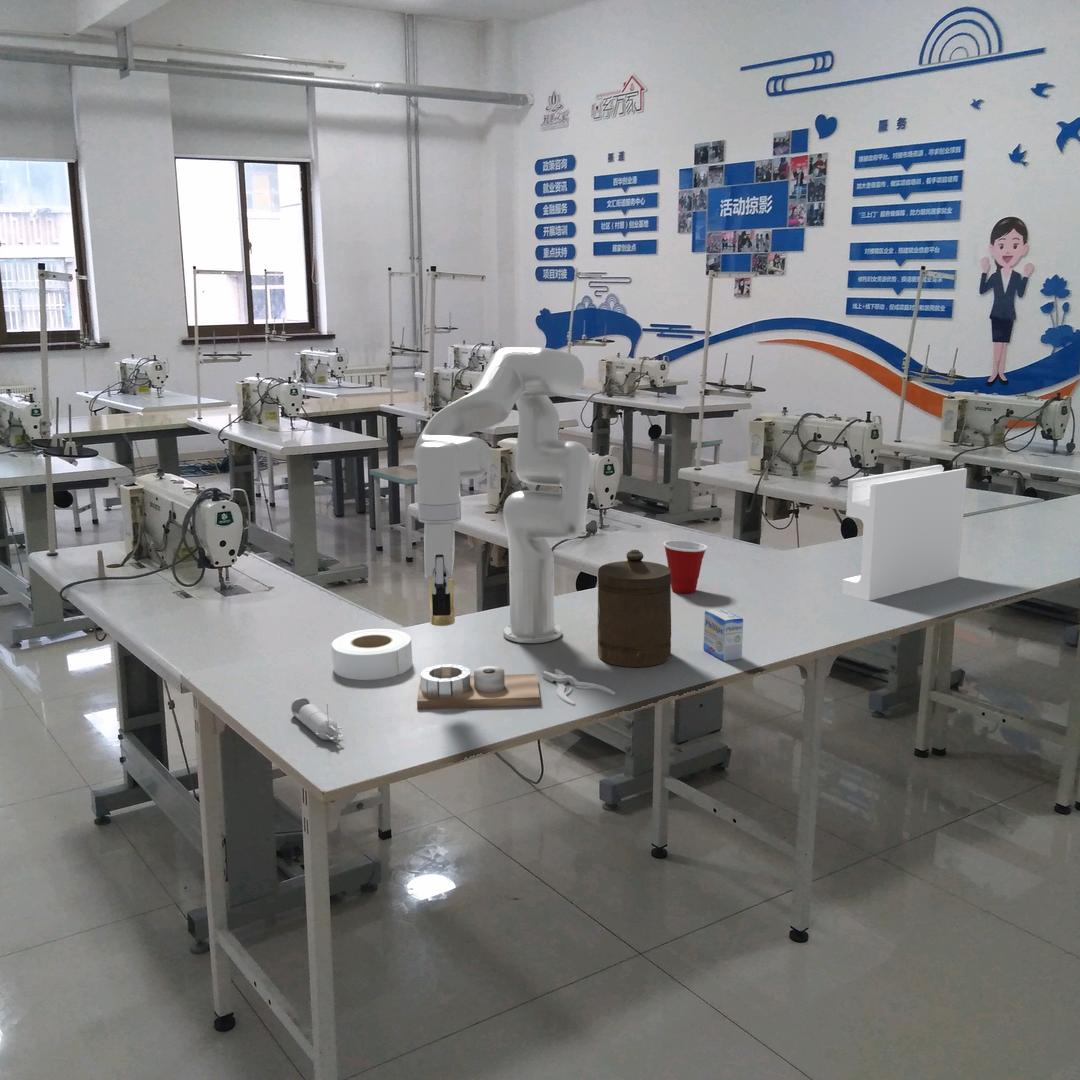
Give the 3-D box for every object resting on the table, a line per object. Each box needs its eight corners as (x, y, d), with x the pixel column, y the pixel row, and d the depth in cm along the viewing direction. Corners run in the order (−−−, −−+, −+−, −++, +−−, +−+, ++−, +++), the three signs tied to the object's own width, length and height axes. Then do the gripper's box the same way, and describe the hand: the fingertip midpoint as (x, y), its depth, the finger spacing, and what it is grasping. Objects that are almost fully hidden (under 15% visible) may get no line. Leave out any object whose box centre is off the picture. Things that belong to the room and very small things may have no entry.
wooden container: (631, 639, 227) (632, 538, 222) (685, 655, 217) (687, 550, 212) (582, 655, 217) (582, 551, 212) (636, 673, 207) (637, 564, 202)
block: (868, 600, 252) (875, 484, 246) (841, 593, 259) (847, 479, 253) (958, 577, 272) (967, 468, 265) (931, 570, 278) (939, 464, 272)
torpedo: (284, 717, 188) (282, 682, 187) (309, 711, 191) (307, 676, 190) (325, 752, 174) (323, 714, 172) (352, 745, 177) (350, 708, 175)
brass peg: (431, 619, 195) (429, 576, 193) (455, 618, 195) (454, 576, 194) (429, 626, 191) (428, 583, 189) (454, 625, 191) (453, 582, 189)
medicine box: (702, 650, 220) (703, 610, 218) (721, 647, 221) (722, 607, 219) (723, 662, 213) (724, 620, 211) (742, 658, 214) (744, 617, 212)
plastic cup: (713, 595, 259) (714, 547, 256) (671, 598, 256) (672, 550, 254) (696, 583, 269) (697, 537, 266) (656, 586, 267) (656, 540, 264)
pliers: (571, 699, 191) (528, 674, 203) (572, 707, 191) (528, 682, 204) (616, 687, 196) (570, 664, 209) (616, 696, 197) (570, 672, 209)
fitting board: (421, 684, 202) (420, 661, 201) (536, 681, 203) (536, 658, 202) (417, 708, 191) (416, 684, 190) (540, 705, 192) (539, 680, 191)
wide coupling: (422, 680, 201) (422, 664, 200) (470, 678, 201) (470, 663, 200) (420, 697, 192) (419, 682, 191) (470, 696, 192) (469, 680, 192)
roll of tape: (380, 686, 202) (378, 658, 201) (316, 672, 210) (314, 645, 209) (428, 661, 216) (427, 635, 214) (367, 649, 223) (365, 624, 222)
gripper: (421, 503, 197) (423, 599, 201) (415, 521, 180) (418, 625, 184) (461, 503, 197) (463, 598, 201) (459, 520, 181) (462, 624, 185)
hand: (442, 610), depth 193 cm, fingers closed on brass peg, 4 cm apart
